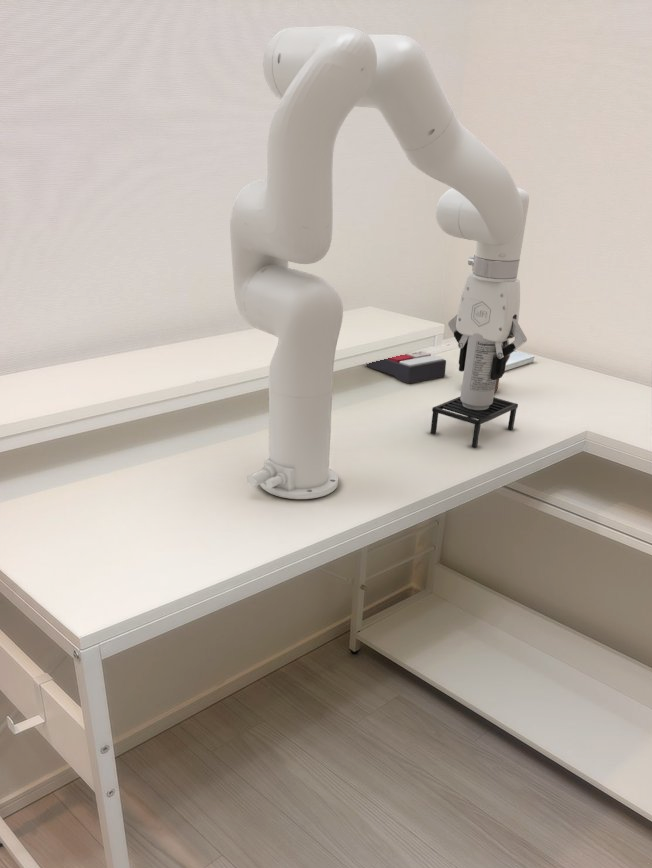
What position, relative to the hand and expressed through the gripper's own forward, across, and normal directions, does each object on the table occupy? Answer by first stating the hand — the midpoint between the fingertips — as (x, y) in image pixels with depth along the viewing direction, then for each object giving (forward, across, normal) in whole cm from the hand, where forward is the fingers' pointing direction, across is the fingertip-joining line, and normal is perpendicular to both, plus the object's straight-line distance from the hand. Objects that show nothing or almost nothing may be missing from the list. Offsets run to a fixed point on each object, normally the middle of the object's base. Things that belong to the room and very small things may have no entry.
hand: (480, 373), depth 146 cm
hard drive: (+11, -19, +45) cm, 50 cm away
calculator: (+11, -31, +21) cm, 39 cm away
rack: (+11, 0, 0) cm, 11 cm away
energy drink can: (+6, 0, 0) cm, 6 cm away
